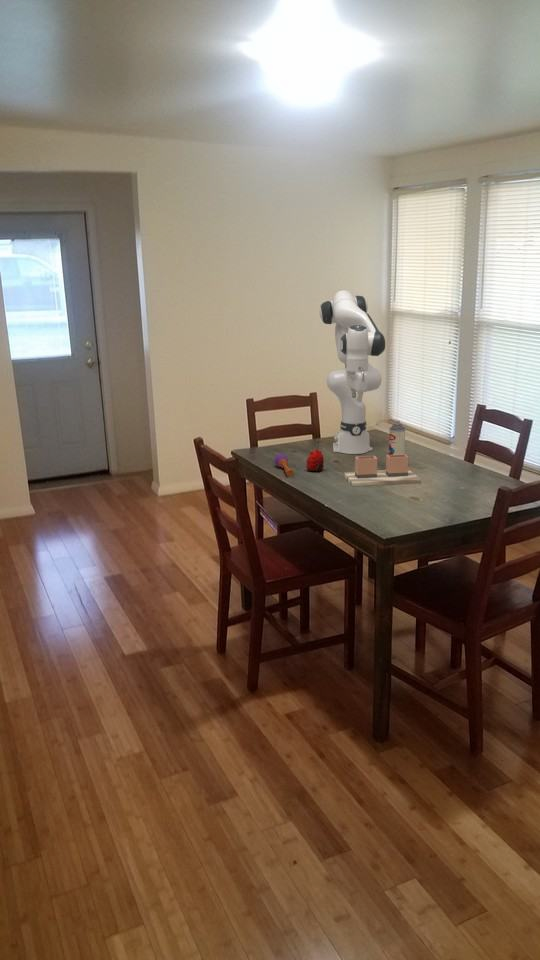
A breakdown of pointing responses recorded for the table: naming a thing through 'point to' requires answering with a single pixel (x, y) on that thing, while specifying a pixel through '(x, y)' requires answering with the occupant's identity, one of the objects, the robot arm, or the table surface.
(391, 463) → the seated sleeve
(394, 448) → the aerosol can
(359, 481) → the wooden slatted tray
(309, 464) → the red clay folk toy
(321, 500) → the table surface
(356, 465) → the sleeve
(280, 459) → the kendama
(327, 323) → the robot arm
